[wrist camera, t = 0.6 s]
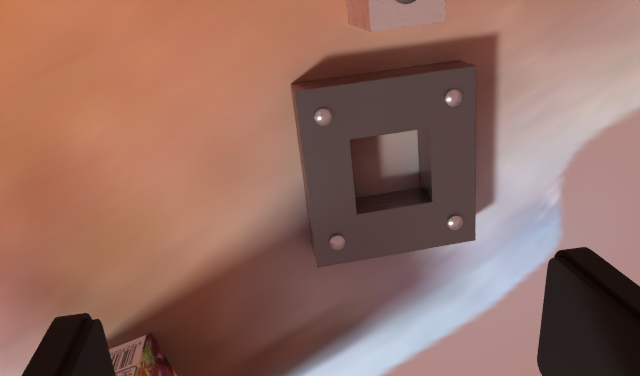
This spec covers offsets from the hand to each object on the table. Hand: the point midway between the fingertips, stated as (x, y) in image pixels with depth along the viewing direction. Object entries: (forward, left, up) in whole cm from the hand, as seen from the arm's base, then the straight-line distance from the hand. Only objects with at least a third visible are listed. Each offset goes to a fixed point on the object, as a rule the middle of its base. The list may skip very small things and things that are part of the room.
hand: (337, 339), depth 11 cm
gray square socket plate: (+7, +8, -29) cm, 31 cm away
